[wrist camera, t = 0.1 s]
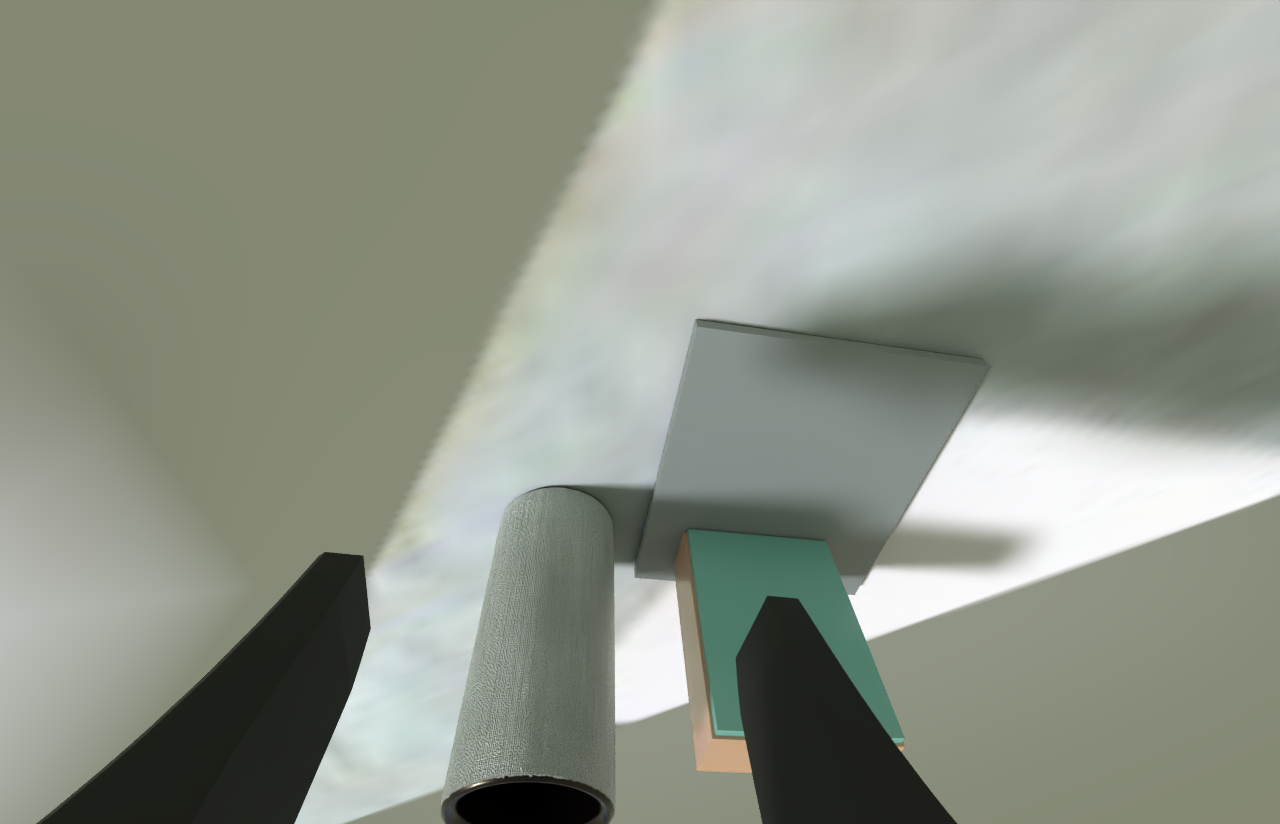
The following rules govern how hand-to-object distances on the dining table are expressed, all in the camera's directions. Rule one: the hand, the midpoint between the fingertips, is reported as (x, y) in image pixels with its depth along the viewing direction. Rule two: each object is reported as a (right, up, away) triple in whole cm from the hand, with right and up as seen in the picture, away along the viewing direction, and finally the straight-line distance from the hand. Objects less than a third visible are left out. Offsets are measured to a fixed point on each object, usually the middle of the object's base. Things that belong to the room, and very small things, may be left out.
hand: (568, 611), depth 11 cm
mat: (+7, +1, +12) cm, 14 cm away
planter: (-2, -1, +13) cm, 13 cm away
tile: (+6, -2, +14) cm, 15 cm away
